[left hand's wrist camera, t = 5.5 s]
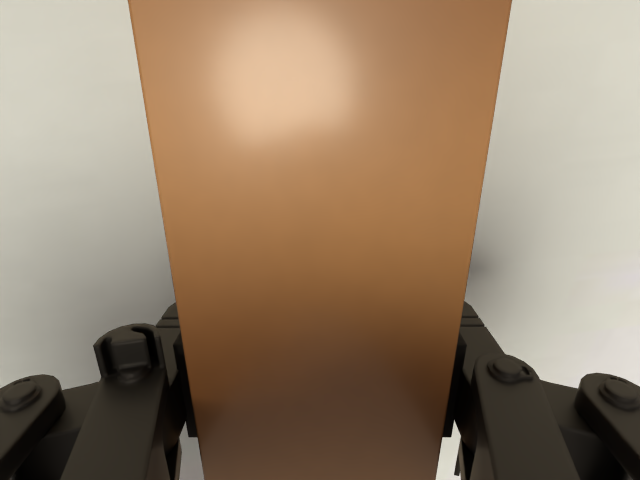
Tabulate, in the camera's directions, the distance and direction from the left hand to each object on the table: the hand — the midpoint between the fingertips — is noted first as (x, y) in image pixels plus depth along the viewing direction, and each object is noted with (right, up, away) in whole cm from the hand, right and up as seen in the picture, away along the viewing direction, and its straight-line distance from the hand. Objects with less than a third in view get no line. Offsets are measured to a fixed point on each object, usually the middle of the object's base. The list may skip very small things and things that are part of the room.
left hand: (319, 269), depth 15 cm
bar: (0, +20, -7) cm, 21 cm away
